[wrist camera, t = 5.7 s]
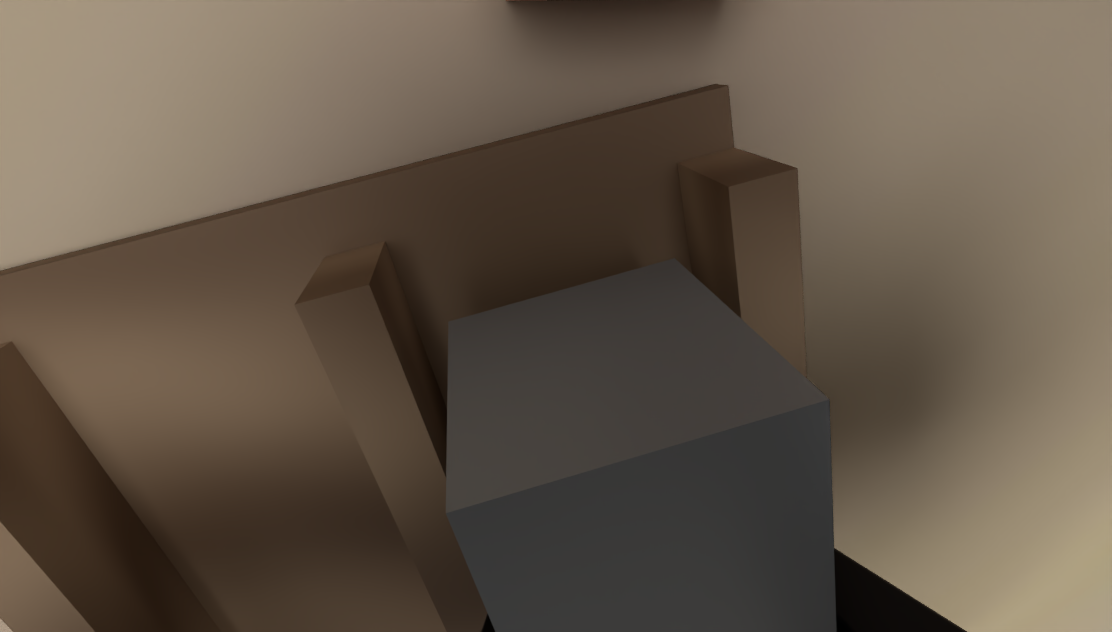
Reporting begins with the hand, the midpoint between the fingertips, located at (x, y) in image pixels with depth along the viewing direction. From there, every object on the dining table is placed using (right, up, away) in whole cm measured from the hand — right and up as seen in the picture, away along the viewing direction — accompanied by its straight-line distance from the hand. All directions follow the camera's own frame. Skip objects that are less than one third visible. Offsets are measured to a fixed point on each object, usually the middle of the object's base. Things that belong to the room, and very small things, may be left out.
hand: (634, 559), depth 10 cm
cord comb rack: (-3, 0, +3) cm, 4 cm away
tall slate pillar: (0, 0, +1) cm, 1 cm away
